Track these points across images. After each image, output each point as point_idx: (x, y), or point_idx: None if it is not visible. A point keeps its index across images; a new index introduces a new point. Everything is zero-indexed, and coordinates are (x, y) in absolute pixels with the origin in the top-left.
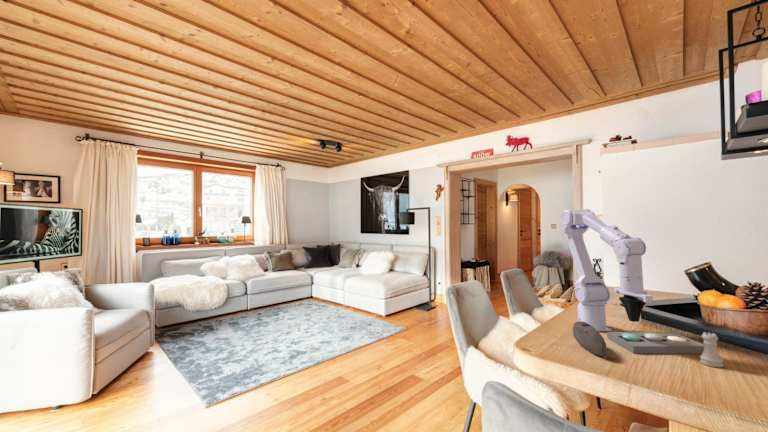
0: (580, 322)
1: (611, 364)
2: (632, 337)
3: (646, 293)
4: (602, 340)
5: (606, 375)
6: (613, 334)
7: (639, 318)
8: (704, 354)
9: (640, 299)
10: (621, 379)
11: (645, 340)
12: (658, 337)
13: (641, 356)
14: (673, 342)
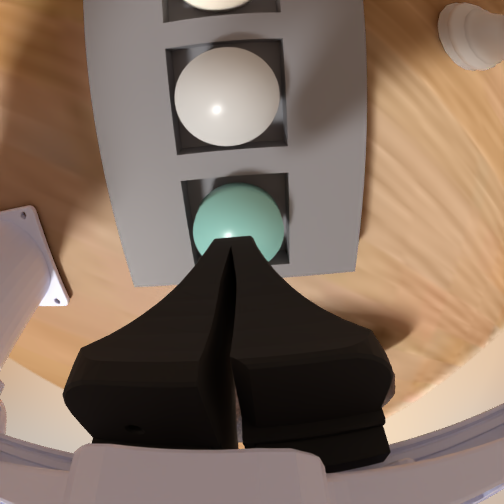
0: (241, 441)
1: (412, 346)
2: (277, 243)
3: (493, 486)
4: (389, 398)
5: (450, 365)
6: (172, 275)
7: (256, 245)
8: (489, 63)
9: (429, 448)
10: (472, 347)
11: (268, 164)
12: (273, 92)
13: (378, 241)
14: (300, 28)
